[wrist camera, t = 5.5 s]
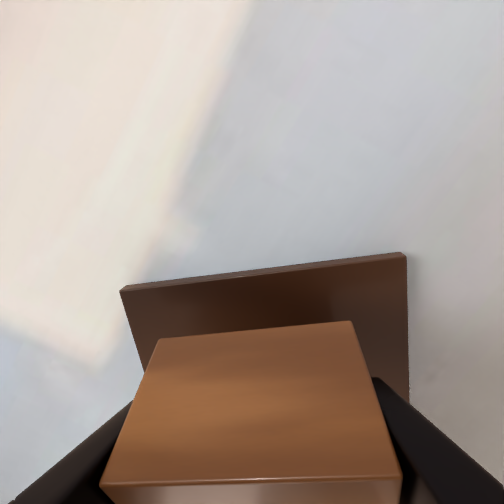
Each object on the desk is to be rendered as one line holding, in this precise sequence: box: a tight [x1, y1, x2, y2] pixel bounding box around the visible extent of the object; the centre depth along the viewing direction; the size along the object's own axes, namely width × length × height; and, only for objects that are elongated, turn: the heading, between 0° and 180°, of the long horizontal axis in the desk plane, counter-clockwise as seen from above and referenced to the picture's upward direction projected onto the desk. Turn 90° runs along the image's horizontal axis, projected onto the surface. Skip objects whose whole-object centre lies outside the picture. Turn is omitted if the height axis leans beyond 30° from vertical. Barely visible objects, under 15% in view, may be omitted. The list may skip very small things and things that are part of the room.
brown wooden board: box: [119, 252, 409, 403], centre depth 14 cm, size 15×11×1 cm
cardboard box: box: [99, 320, 403, 504], centre depth 10 cm, size 10×6×4 cm, turn 9°
